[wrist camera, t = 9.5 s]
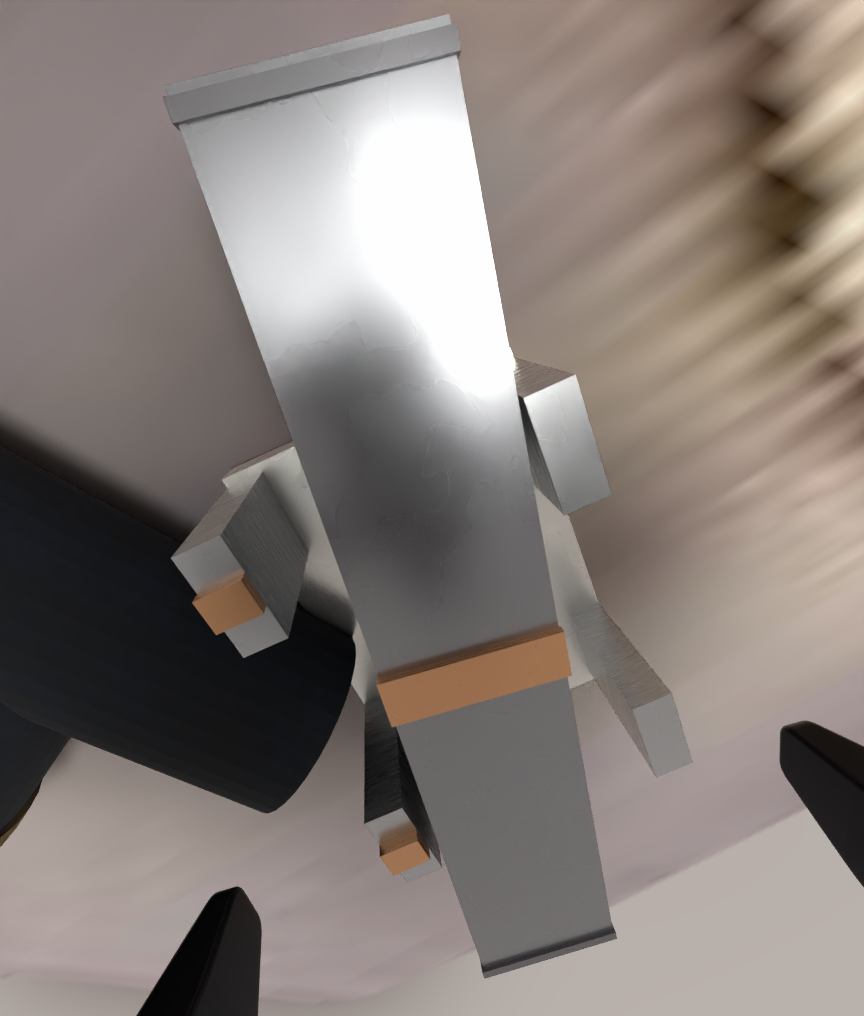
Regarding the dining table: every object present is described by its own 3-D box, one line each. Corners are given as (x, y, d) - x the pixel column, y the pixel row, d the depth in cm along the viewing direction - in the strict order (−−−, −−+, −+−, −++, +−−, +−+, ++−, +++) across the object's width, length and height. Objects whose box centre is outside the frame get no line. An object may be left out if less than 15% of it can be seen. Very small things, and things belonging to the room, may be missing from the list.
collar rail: (231, 468, 14) (155, 554, 9) (500, 345, 13) (578, 362, 8) (399, 738, 18) (411, 899, 13) (607, 648, 18) (701, 778, 13)
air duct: (566, 815, 19) (618, 945, 15) (461, 846, 19) (486, 985, 15) (422, 119, 11) (455, 3, 7) (232, 167, 10) (154, 79, 7)
